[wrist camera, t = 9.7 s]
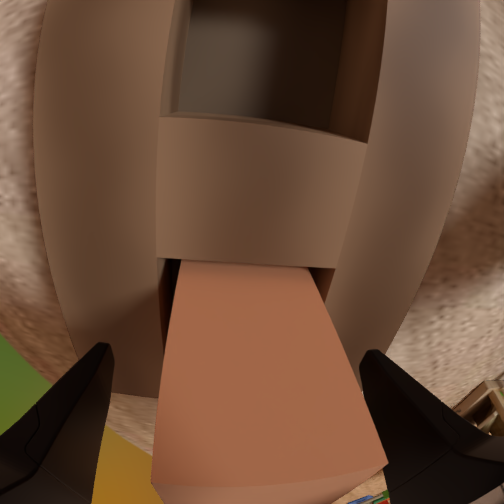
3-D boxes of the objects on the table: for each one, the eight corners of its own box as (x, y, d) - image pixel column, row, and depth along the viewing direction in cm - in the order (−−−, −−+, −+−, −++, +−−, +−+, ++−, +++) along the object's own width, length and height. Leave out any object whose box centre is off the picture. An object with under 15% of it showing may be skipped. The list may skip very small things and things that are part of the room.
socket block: (423, 1, 8) (479, -12, 5) (339, 343, 18) (360, 394, 14) (113, -49, 6) (79, -86, 3) (108, 334, 16) (91, 388, 12)
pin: (293, 236, 13) (388, 463, 4) (275, 315, 15) (319, 510, 6) (188, 228, 12) (150, 482, 4) (186, 311, 14) (173, 517, 6)
